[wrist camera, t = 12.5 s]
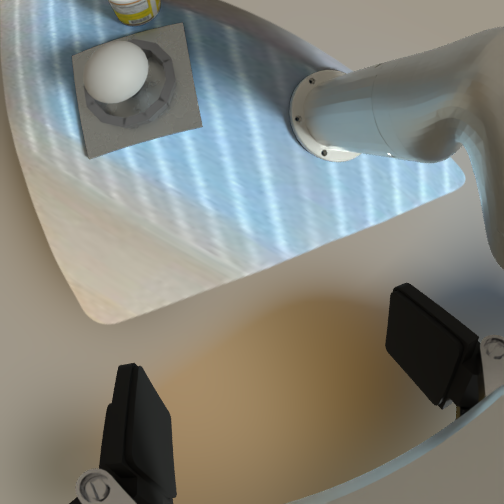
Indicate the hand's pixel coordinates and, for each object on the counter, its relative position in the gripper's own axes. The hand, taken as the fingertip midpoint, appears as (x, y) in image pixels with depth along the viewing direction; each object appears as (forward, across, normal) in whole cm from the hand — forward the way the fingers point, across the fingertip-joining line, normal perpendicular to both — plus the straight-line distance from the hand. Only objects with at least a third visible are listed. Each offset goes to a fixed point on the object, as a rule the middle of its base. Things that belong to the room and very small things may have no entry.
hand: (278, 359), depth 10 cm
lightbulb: (+28, +6, -16) cm, 32 cm away
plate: (+28, +6, -16) cm, 33 cm away
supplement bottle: (+28, +4, -27) cm, 39 cm away
